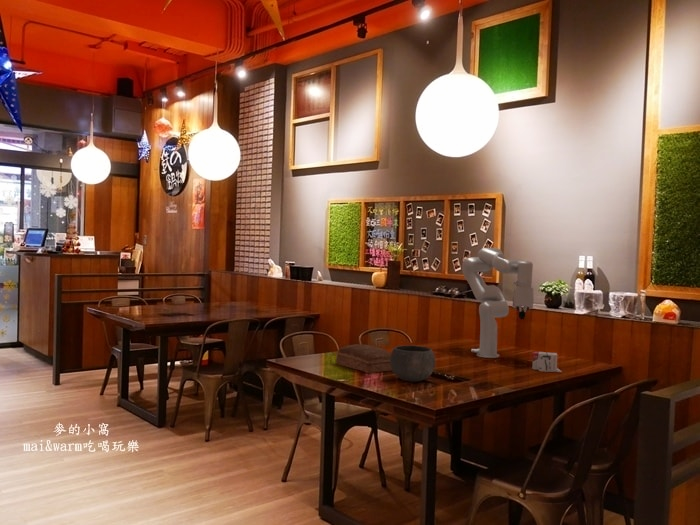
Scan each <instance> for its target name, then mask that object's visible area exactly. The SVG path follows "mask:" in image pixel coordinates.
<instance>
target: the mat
mask: <svg viewBox="0 0 700 525" xmlns="http://www.w3.org/2000/svg"><path fill="white" fill-rule="evenodd" d="M538 371H539V372H546V373H547V372H552V373H553V372H554V373H563V371H562V370H560V369H559V368H558V367H557V370H556V371H548V370H538Z"/></svg>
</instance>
